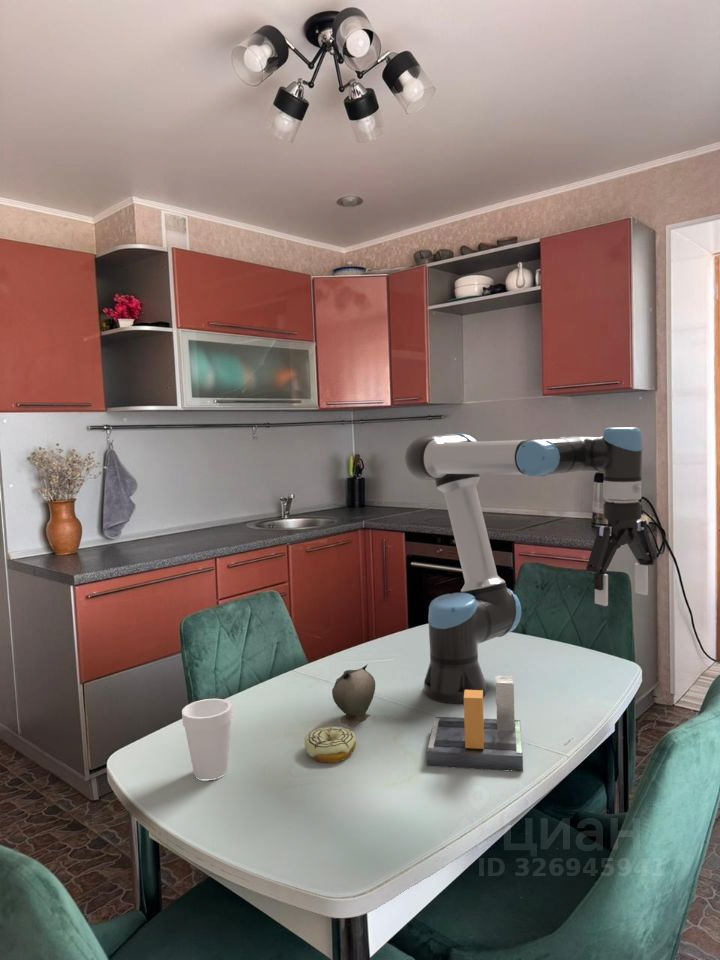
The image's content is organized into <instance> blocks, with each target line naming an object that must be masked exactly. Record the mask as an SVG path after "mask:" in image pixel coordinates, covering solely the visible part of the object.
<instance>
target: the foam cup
mask: <svg viewBox="0 0 720 960" xmlns="http://www.w3.org/2000/svg"><path fill="white" fill-rule="evenodd" d="M181 717H182V719H181V720H182V726H183V727H184V730H185V736H186V740H187V745H188V750H189V751H188V752H189V755H190V756H189V757H190V760H191V761H190V762H191V765H192V770H193V776H194V775H195V776H196V777H197V778H199V779H214V778H218V777H220V776H222V775H224V774H225V773H226V771H227V772H228V769H229V758H230V757H229V756H230V745H231V744H230V742H231V728H232V719H233V706H232V702H230V701H229V700H227V699H224V698H223V699H222V698H207V699H201V700H196V701H192V702H190V703H189V704H186V705H185V706H184V707H183V708H182V710H181ZM226 774H227V773H226ZM195 776H194V777H195Z"/></svg>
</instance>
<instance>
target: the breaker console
mask: <svg viewBox="0 0 720 960" xmlns="http://www.w3.org/2000/svg"><path fill="white" fill-rule="evenodd" d="M514 685H515V684H514V676H513V675H495V699H496V700H495V701H496V702H495V703H496V719H495V718H484V749H475V748H465V724H464V717H457V716H456V717H453V716H434V718H433V722H432V723H433V724H432V727H431V732H430V737H429V741H428V745H427V749H426V760H427V761H426V763H427V764H426V766H427V767H435V766H436V767H437V768H438V766H439V768H452V767H455V769H469V770H475V769H476V770H487V771H489V770H490V771H503V770H509V772H520V771H523V772H524V758H523V757H524V756H523V755H524V754H523V740H522V726H521V725H522V724H521V719H515V693H514V692H515V689H514ZM470 768H471V769H470ZM488 769H489V770H488ZM511 770H512V771H511Z"/></svg>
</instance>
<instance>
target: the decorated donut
mask: <svg viewBox="0 0 720 960" xmlns="http://www.w3.org/2000/svg"><path fill="white" fill-rule="evenodd" d="M303 743H304V748H305V750H306V753H307V755H309V756H310V757H311V758H312V759H315V760H316V761H317V762H322V763H332V764H333V763H334V764H336V763H338V762H342V761H343V760H347V759H348V758H349V757H350V756H351V755H352V754H353V752H354V750H355V749H356V746H357V745H356V744H357V740H356V736H355V733H354V732H353V731H352V730H350V729H348V728H345V727H342V726H334V725H333V726H325V727H321V728H320V727H319V728H316V729H313V730H312V731H310V732H309V733H308V734H307V735H306V736H305V737H304V742H303Z"/></svg>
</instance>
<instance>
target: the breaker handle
mask: <svg viewBox="0 0 720 960" xmlns="http://www.w3.org/2000/svg"><path fill="white" fill-rule="evenodd" d="M463 714H464V715H463V718H464V724H465V748H475V749H484V719H485V718H484V696H483V690H465V691H464V703H463Z"/></svg>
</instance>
